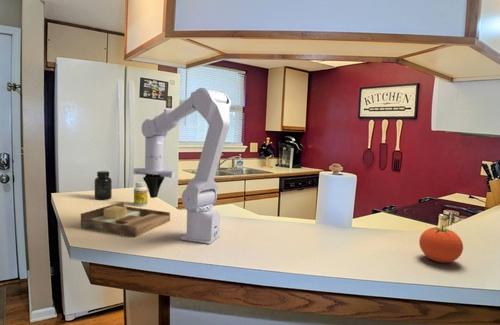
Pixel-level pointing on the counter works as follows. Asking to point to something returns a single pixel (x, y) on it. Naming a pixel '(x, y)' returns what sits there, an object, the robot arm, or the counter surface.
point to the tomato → (441, 244)
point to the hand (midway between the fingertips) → (153, 197)
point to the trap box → (124, 220)
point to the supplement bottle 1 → (103, 186)
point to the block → (115, 212)
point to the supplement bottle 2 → (140, 194)
